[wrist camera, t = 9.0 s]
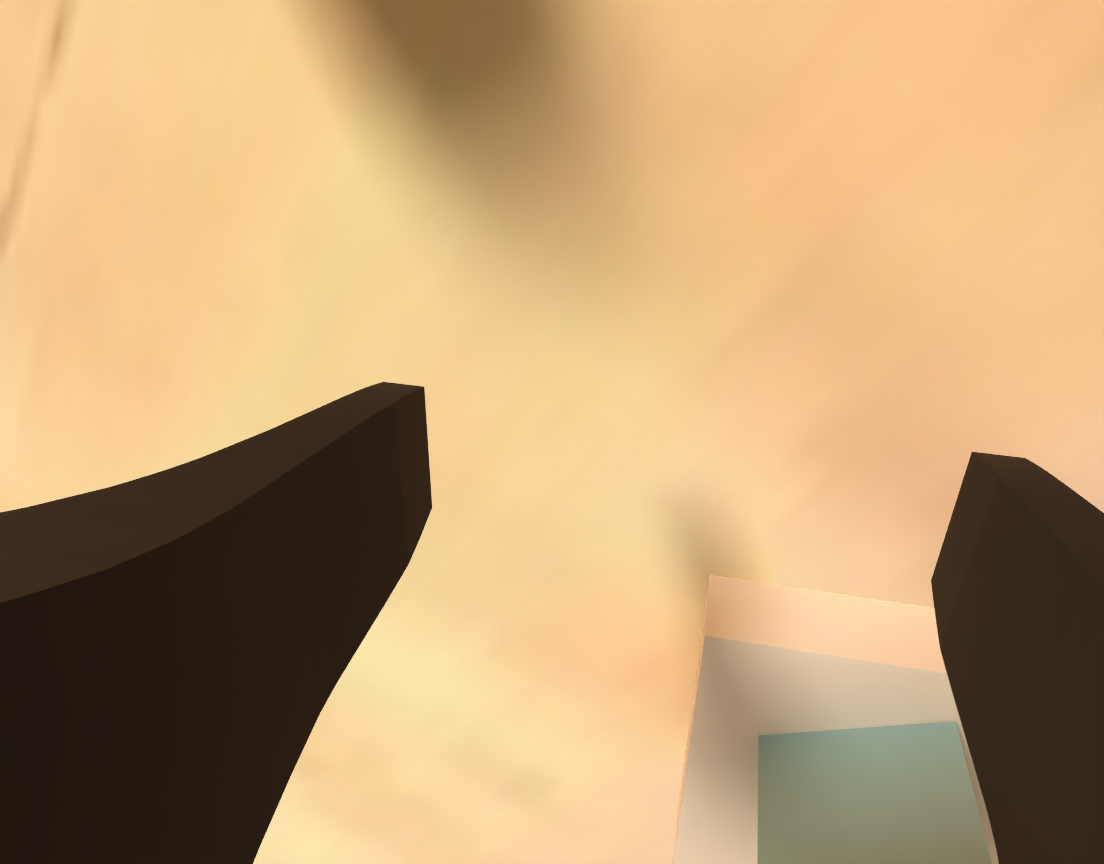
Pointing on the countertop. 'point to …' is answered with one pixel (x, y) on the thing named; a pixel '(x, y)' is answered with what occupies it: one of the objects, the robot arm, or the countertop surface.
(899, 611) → the cream block
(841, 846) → the teal block
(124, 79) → the countertop surface
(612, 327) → the countertop surface
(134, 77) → the countertop surface
